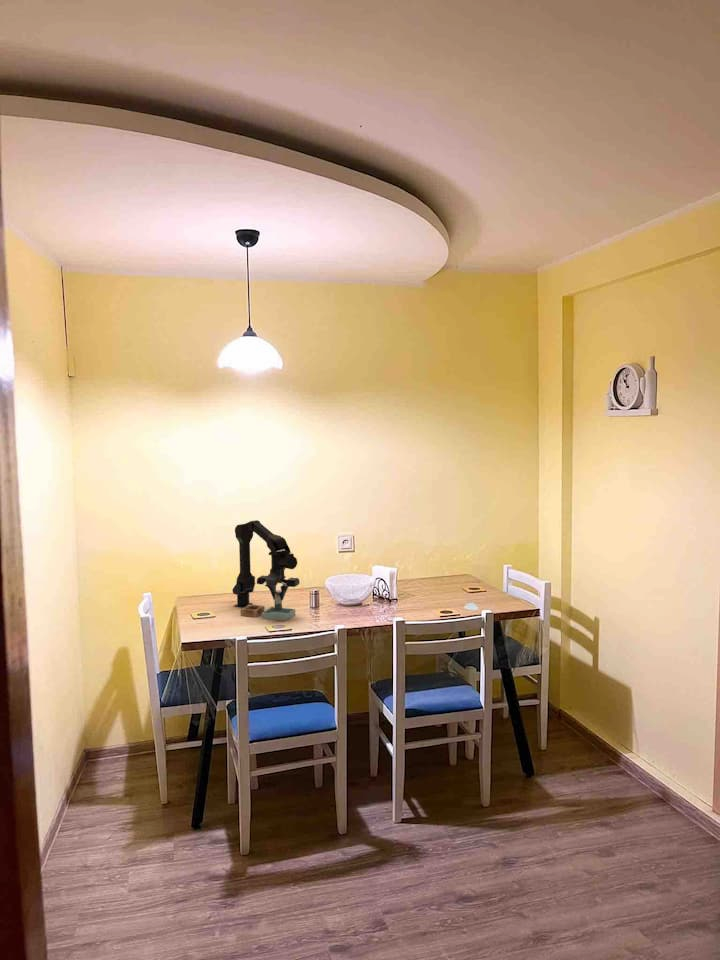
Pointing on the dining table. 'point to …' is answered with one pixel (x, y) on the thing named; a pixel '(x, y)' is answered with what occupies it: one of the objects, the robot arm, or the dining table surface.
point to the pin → (278, 600)
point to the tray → (278, 614)
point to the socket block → (252, 610)
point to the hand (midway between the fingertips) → (278, 599)
